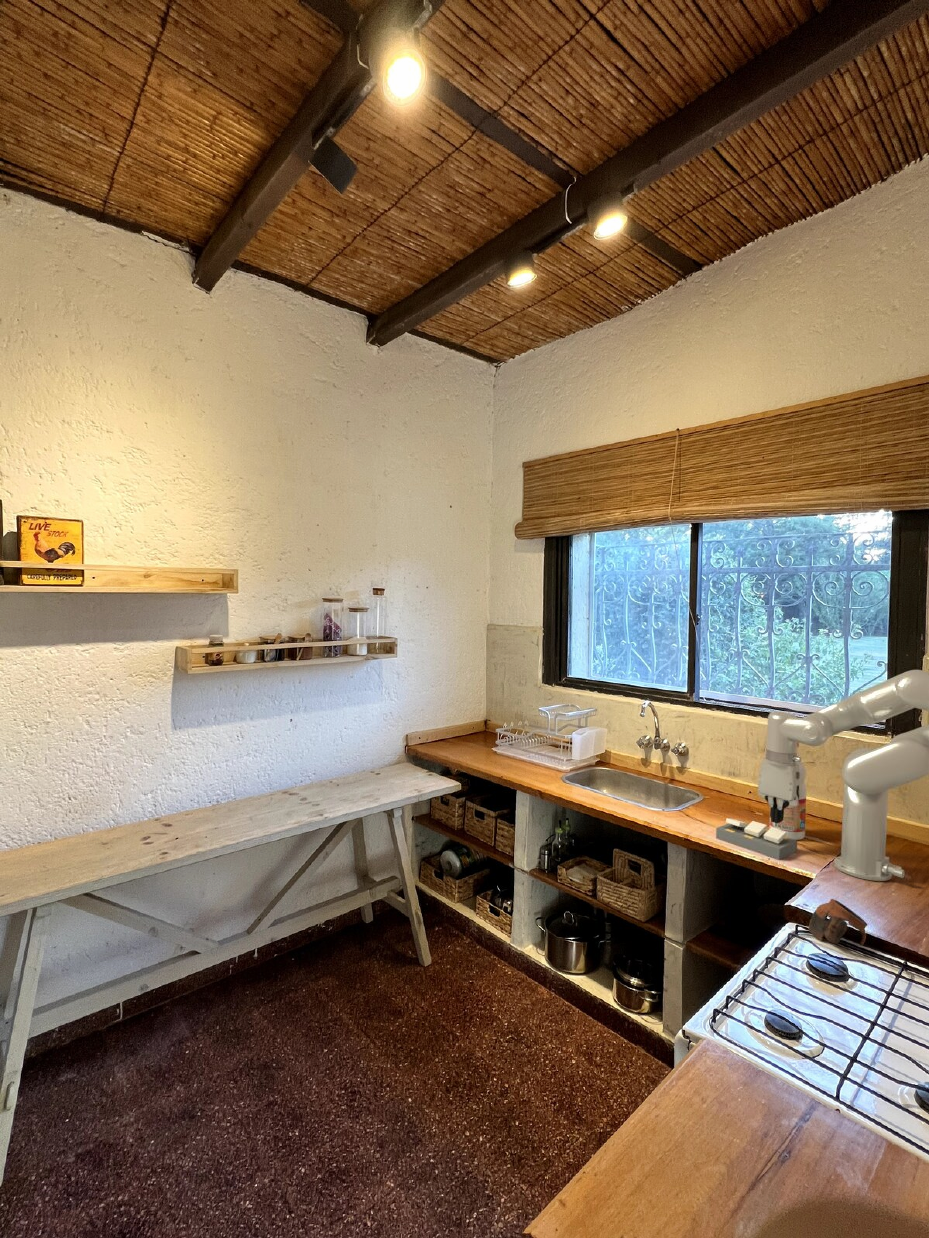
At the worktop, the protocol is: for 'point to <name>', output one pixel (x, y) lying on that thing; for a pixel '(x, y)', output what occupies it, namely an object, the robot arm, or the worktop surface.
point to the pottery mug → (835, 922)
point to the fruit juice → (795, 812)
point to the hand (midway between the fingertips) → (776, 821)
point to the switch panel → (756, 842)
